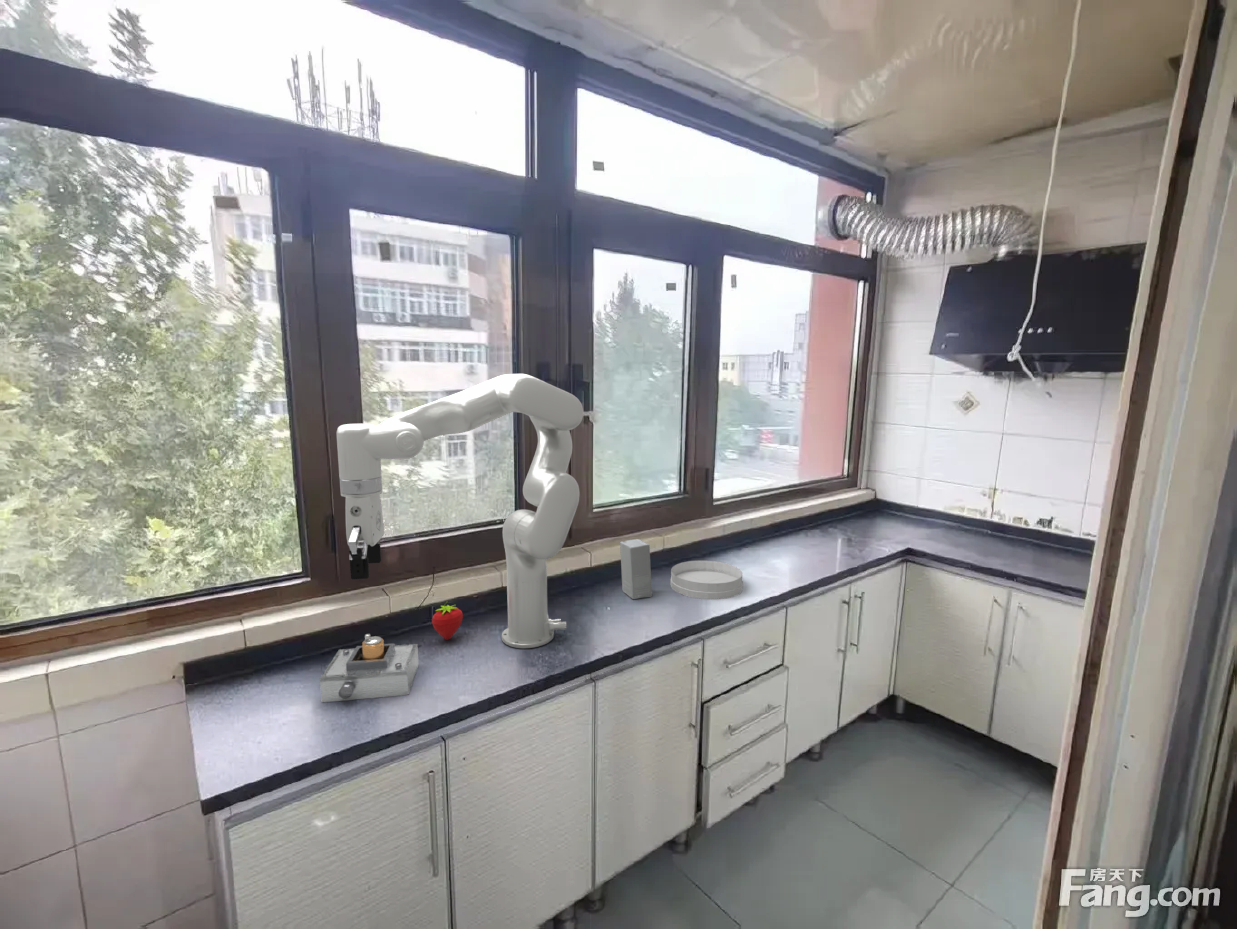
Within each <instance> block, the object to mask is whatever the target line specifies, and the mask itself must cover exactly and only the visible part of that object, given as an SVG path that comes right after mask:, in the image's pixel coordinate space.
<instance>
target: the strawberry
mask: <svg viewBox="0 0 1237 929" xmlns="http://www.w3.org/2000/svg"><path fill="white" fill-rule="evenodd" d="M447 603H448V600H447V601H446V602H445V604H444V605H440V607H441V608H437V609H436V610H434V611H435V613H434V614H433V615H432V618H431V623H432V627H433V629H434V630H435V631H436V632H437V633H438V635H440V637H442V638H443V639H444V640H446V641H449V640H450V639H452V637H453V636H454V634H455V633H456V632H457V630H458V629H459V628H460V626H461V625H462V623H463V618H464V615H463V611H462V610H461V609H459V607H456V604H453V605H449V604H447ZM446 604H447V605H446Z"/></svg>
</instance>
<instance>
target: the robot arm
mask: <svg viewBox="0 0 1237 929" xmlns="http://www.w3.org/2000/svg"><path fill="white" fill-rule="evenodd" d="M510 413H521V414H523V415H526V416H528V417H529V419H530V421H531V422H532V424H533V426H534V429H535V431H536V434H537V446H536V450H535V453H534V456H533V458H532V461H531V464H530V466H529V470H528V472H527V475H526V477H525V480H524V482H523V484H522V485H523V486H522V494H523V498H524V499H525V500H526V501H527V503H529V504H530V505H533V506H534V507H537V508H536V511H533V510H531V509H517V510H514V511H513V512H511V513H510V514H509V515H508V516H507V517H506V518H505V520H504V522H503V526H502V541H503V547H504V553H505V561H506V595H507V600H506V602H507V628H505V629H504V630H503V631H502V632H501V641H502V642H503V643H504V644H505V645H507V646H509V647H511V648H515V649H532V648H538V647H541V646H545V645H546V644H548V643H550V642H551V641H553V639H554V637H555V631H565V630H567V621H561V620H562V619H561V618H557V619H556V618H555V619H552V618H549V613H548V568H547V567H548V565H547V560H549V559H552V558H553V557H555V556H557V554H558V553H559V552H560V550H562V547H563V546H564V544H565V542H566V540H567V537H568V534H569V531H570V528H571V526H572V523H573V521H574V517H575V514H576V511H577V509H578V506H579V503H580V487H579V483H578V482H577V480H576V479H575V477H573V475H571V474H569V473H567V470H568V467H569V464H570V461H571V457H572V454H573V439H572V436H571V435H572V434H571V430H574V429H576V428H577V427H578V426H579V425H580V424H581V423H582V420H583V419H584V407H583V404H582V403H581V401H580V399H579V398H578V397H576V396H575V395H574V394H572V393H570V392H568V391H566V390H564V389H562V388H559V387H557V386H555V385H552V384H550V383H549V382H546V381H544V380H542V379H540V378H537V377H535V376H532V375H530V374H526V373H506V374H500V375H498V376H496V377H495V376H494V377H493V378H491V379H488V380H485V381H483V382H481V383H478V384H476V385H473V386H472V387H468V388H466V389H464V390H461V391H458V392H455V393H453V394H450V395H448V396H445V397H441V398H440V399H437V400H434V401H432V402H429V403H426V404H423V405H420V406H417V407H414V408H412V409H409V410H406V411H403V412H401V413H399V414H397V415H394V416H392V417H389V418H386V419H385V420H382V421H381V422H380V423H378V424H377V425H375V424H372V423H363V422H362V423H359V422H358V423H347V424H346V423H345V424H341V425H339V426H338V427H337V430H336V445H337V448H336V449H337V461H338V462H337V463H338V474H339V475H338V476H339V488H340V496H341V497H344V498H345V508H344V509H345V511H344V512H345V535H346V536H345V537H346V542H347V546H348V548H349V549H348V552H349V556H348V557H349V567H350V568H349V569H350V579H351V580H367V579H368V578H369V577H370V566H369V564H380V563H381V562H382V555H381V554H382V552H381V543H380V542H381V539H382V538H383V537H384V534H385V526H384V517H383V508H382V506H383V505H382V500H381V494H383V480H382V479H383V478H382V462H381V460H402V461H404V460H410V459H413V458H414V457H416V456H417V455H418V454H420V453H421V451H422V450H423V447H424V444H425V443H424V442H426V441H428V440H431V439H433V438H436V437H441V436H442V437H443V436H447V435H455V434H463V433H466V432H470V431H473V430H475V429H477V428H480V427H482V426H483V425H486V424H488V423H490V422H493V421H494V420H497V419H500V418H502V417H505V416H506V415H509V414H510Z"/></svg>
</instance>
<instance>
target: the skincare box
mask: <svg viewBox="0 0 1237 929" xmlns="http://www.w3.org/2000/svg"><path fill="white" fill-rule="evenodd" d="M619 545H620V546H619V547H620V566H621V567H620V568H621V584H622V585H621V588H622V593H625V594H626V595H627V596H628V597H629V598H631V599H632V600H638V599H643V598H651V597H652V596H653V590H652V585H653V584H652V571H651V570H652V569H651V566H652V565H651V552H650V551H651V550H650V549H651V548H650V544H649V543H647V542H645V541H644V540H641V538H636V539H635V538H634V539H628V540H623V541H620V542H619Z"/></svg>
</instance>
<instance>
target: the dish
mask: <svg viewBox="0 0 1237 929" xmlns="http://www.w3.org/2000/svg"><path fill="white" fill-rule="evenodd" d="M670 574H671V575H670V576H671V577H670V582H669V583H670V587H671V589H672V590H673V591H674V592H676V593H678V594H680V595H683V596H686V597H690V598H694V599H699V600H723V599H724V600H725V599H730V598H734V597H736V596H738V595H741V593H742V592H743V587H744V581H743V570H741V569H740V568H738V567H737V566H735V565H732V564H729V563H726V562H722V561H721V562H720V561H716V560H688V561H684V562H679V563H677V564H675V565H673V566H672V567H671V570H670Z"/></svg>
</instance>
